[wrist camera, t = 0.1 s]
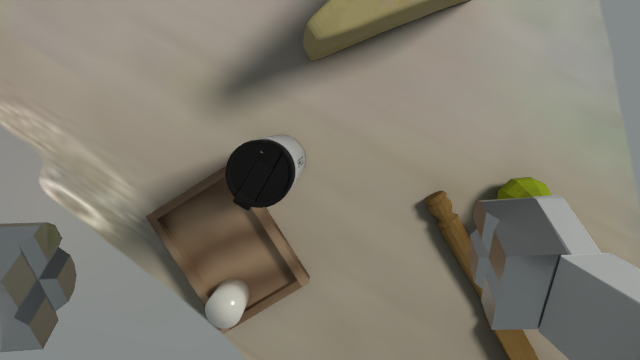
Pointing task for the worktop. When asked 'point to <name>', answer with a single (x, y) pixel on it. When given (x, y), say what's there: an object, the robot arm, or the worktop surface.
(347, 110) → the worktop surface
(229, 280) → the white egg
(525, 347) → the tap handle
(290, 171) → the travel mug
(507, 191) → the fruit
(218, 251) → the tray
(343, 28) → the cheese
